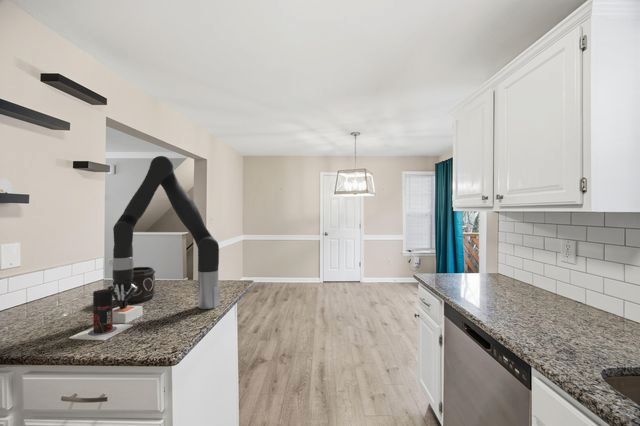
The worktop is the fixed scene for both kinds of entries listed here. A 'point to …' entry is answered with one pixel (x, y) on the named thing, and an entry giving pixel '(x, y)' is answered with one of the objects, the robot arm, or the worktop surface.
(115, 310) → the button
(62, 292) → the worktop surface
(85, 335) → the white flat square slab
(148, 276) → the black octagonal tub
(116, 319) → the button housing
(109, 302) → the deodorant
